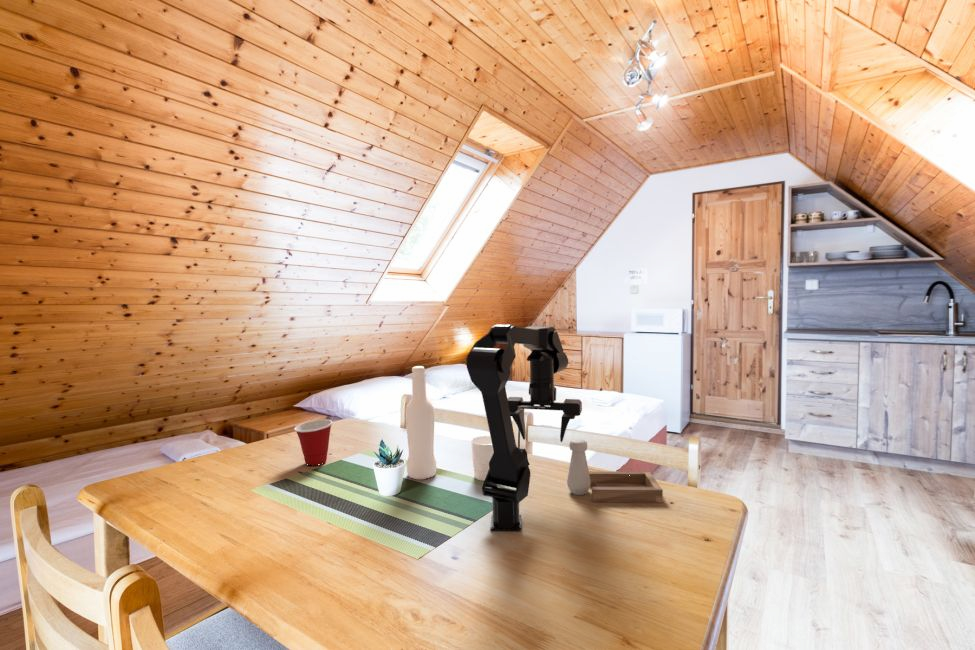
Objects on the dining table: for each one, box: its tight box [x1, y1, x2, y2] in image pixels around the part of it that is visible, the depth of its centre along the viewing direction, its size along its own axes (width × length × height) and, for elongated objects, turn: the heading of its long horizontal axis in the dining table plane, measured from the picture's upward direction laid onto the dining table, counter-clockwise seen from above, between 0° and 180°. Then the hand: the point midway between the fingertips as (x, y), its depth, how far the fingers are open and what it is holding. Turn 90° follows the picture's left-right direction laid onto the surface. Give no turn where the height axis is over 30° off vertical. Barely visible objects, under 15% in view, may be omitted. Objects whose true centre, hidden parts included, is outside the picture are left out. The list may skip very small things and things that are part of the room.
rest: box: [589, 471, 664, 503], centre depth 120 cm, size 12×16×3 cm
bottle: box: [404, 365, 438, 480], centre depth 133 cm, size 8×8×30 cm
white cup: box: [471, 435, 494, 482], centre depth 132 cm, size 8×8×10 cm
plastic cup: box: [293, 419, 333, 465], centre depth 145 cm, size 11×11×12 cm
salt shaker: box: [566, 438, 592, 496], centre depth 120 cm, size 6×6×13 cm
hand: (542, 440), depth 120 cm, fingers open, 9 cm apart
